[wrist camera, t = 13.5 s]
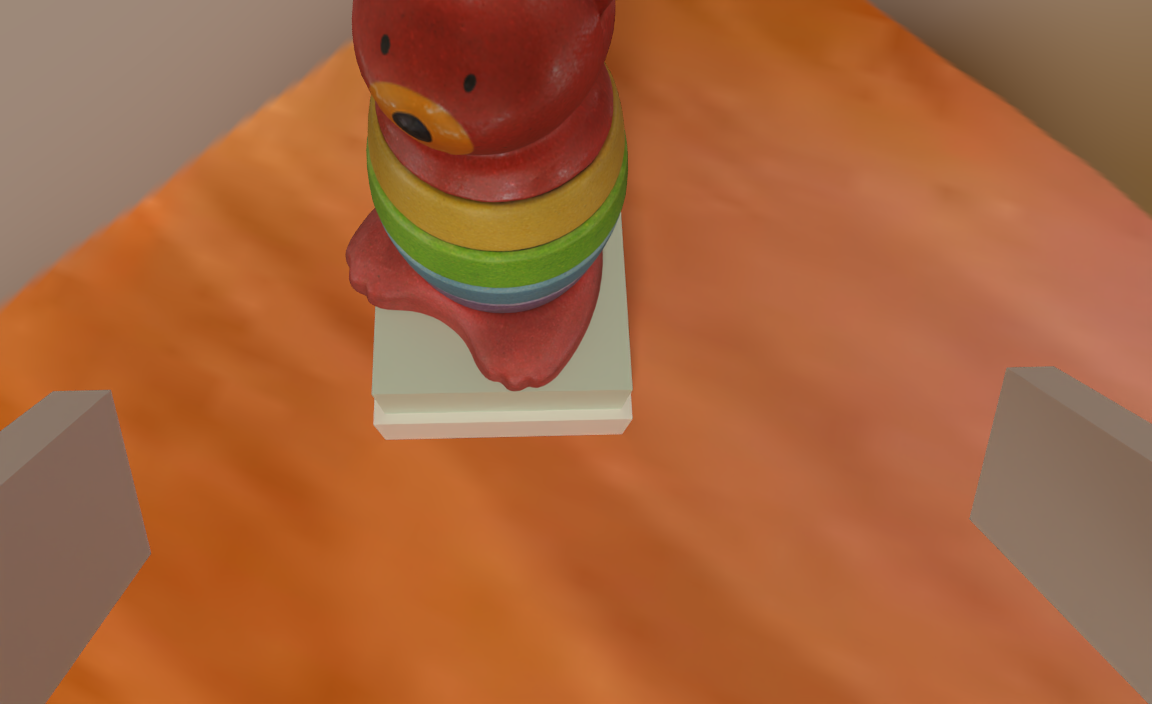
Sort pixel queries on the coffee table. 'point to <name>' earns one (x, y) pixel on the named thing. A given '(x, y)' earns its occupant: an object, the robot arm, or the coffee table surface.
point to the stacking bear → (491, 172)
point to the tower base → (485, 408)
